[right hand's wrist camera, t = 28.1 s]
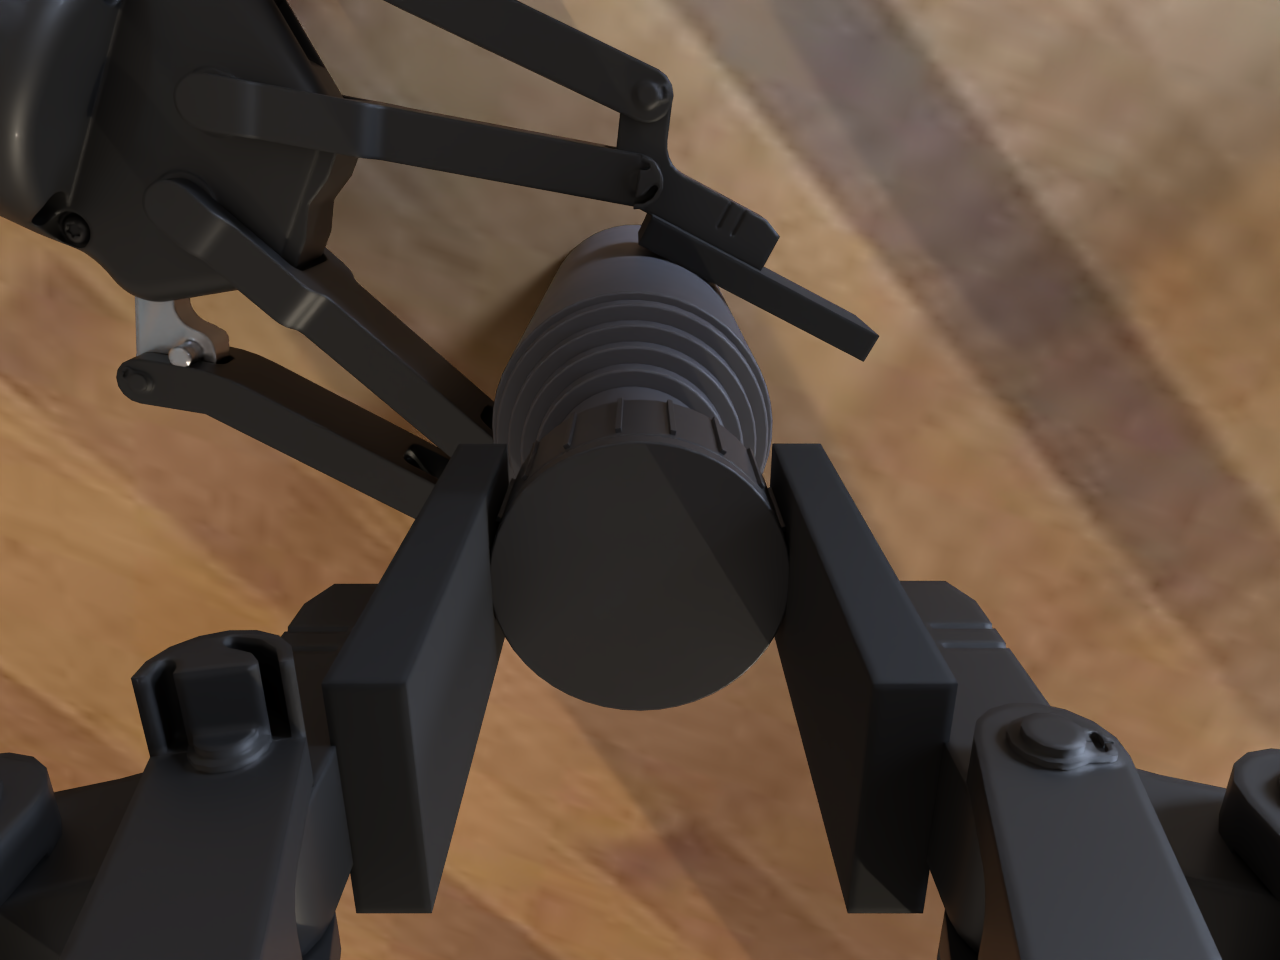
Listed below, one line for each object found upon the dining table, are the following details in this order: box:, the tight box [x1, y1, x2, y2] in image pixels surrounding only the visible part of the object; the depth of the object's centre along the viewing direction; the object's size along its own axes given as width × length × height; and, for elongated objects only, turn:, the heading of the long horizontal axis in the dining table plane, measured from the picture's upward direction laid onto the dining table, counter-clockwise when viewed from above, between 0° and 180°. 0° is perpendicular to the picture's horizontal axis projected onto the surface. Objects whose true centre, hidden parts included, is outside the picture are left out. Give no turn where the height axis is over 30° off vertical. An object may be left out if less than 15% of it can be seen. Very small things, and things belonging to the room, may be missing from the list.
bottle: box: [492, 225, 772, 483], centre depth 22 cm, size 6×6×17 cm
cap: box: [490, 398, 789, 711], centre depth 13 cm, size 4×4×2 cm
